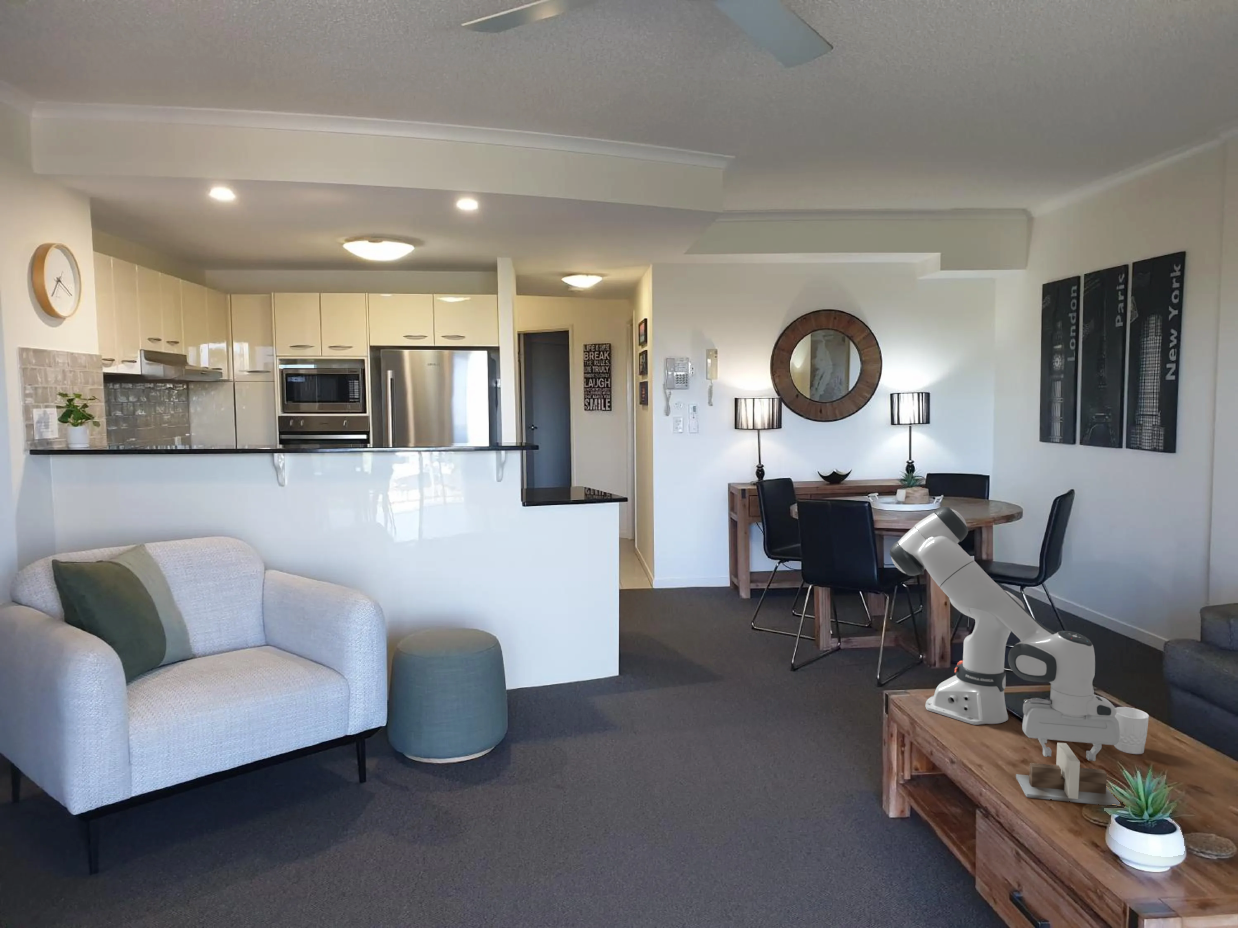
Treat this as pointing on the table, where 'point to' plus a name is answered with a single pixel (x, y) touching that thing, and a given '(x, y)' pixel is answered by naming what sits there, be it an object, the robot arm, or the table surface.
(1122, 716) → the white cup
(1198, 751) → the table surface
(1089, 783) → the base plate
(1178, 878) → the table surface
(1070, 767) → the upright cream slab
